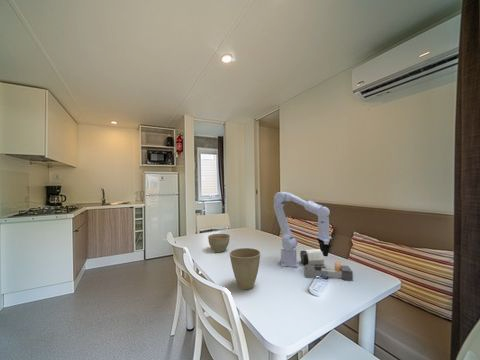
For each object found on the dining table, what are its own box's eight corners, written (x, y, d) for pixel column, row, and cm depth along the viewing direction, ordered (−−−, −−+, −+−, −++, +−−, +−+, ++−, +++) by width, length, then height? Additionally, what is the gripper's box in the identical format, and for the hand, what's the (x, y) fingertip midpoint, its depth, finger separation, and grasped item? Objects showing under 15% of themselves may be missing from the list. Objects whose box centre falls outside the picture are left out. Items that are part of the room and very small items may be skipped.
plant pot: (262, 279, 106) (261, 248, 106) (260, 294, 91) (259, 258, 91) (233, 277, 108) (233, 247, 109) (227, 292, 94) (226, 257, 94)
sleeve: (305, 277, 107) (305, 269, 107) (304, 271, 114) (303, 264, 114) (328, 278, 105) (327, 270, 105) (325, 273, 111) (325, 265, 112)
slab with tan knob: (322, 276, 107) (321, 263, 107) (320, 273, 110) (320, 260, 111) (349, 278, 104) (349, 265, 104) (347, 275, 108) (346, 262, 108)
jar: (325, 263, 120) (305, 264, 120) (321, 265, 127) (302, 266, 127) (322, 247, 124) (302, 248, 124) (318, 250, 131) (299, 251, 131)
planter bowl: (229, 254, 145) (229, 238, 146) (206, 254, 146) (206, 239, 146) (230, 247, 161) (230, 233, 162) (210, 247, 162) (209, 233, 162)
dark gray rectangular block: (343, 280, 103) (342, 271, 103) (339, 273, 110) (338, 265, 110) (352, 280, 102) (352, 271, 102) (348, 274, 109) (348, 265, 109)
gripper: (334, 232, 106) (335, 258, 106) (328, 226, 120) (329, 249, 120) (319, 231, 107) (320, 258, 107) (315, 226, 122) (316, 249, 121)
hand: (324, 253), depth 114 cm, fingers open, 7 cm apart
